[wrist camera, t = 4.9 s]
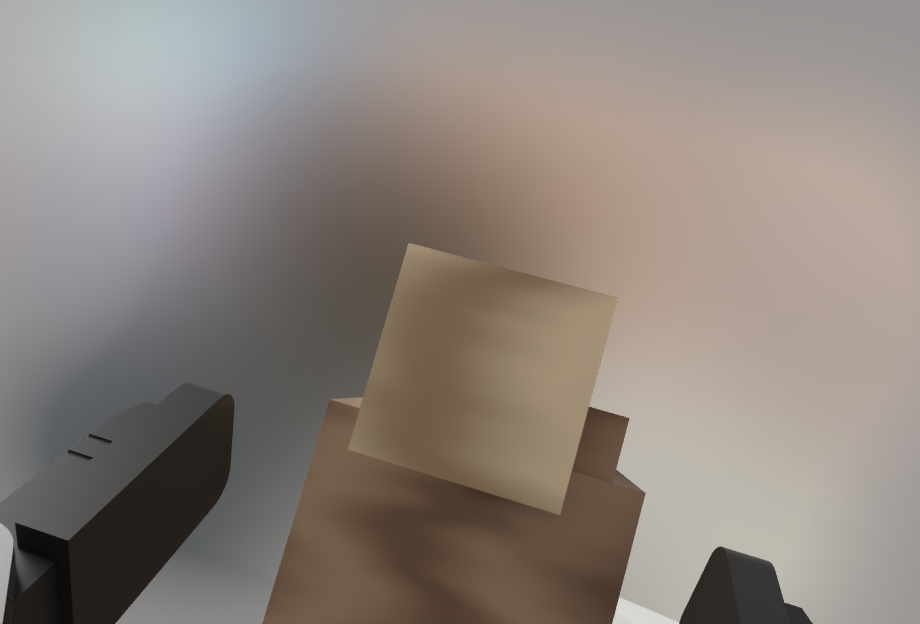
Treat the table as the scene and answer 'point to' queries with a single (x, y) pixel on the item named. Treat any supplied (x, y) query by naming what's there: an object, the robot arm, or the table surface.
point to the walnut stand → (453, 540)
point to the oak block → (484, 377)
